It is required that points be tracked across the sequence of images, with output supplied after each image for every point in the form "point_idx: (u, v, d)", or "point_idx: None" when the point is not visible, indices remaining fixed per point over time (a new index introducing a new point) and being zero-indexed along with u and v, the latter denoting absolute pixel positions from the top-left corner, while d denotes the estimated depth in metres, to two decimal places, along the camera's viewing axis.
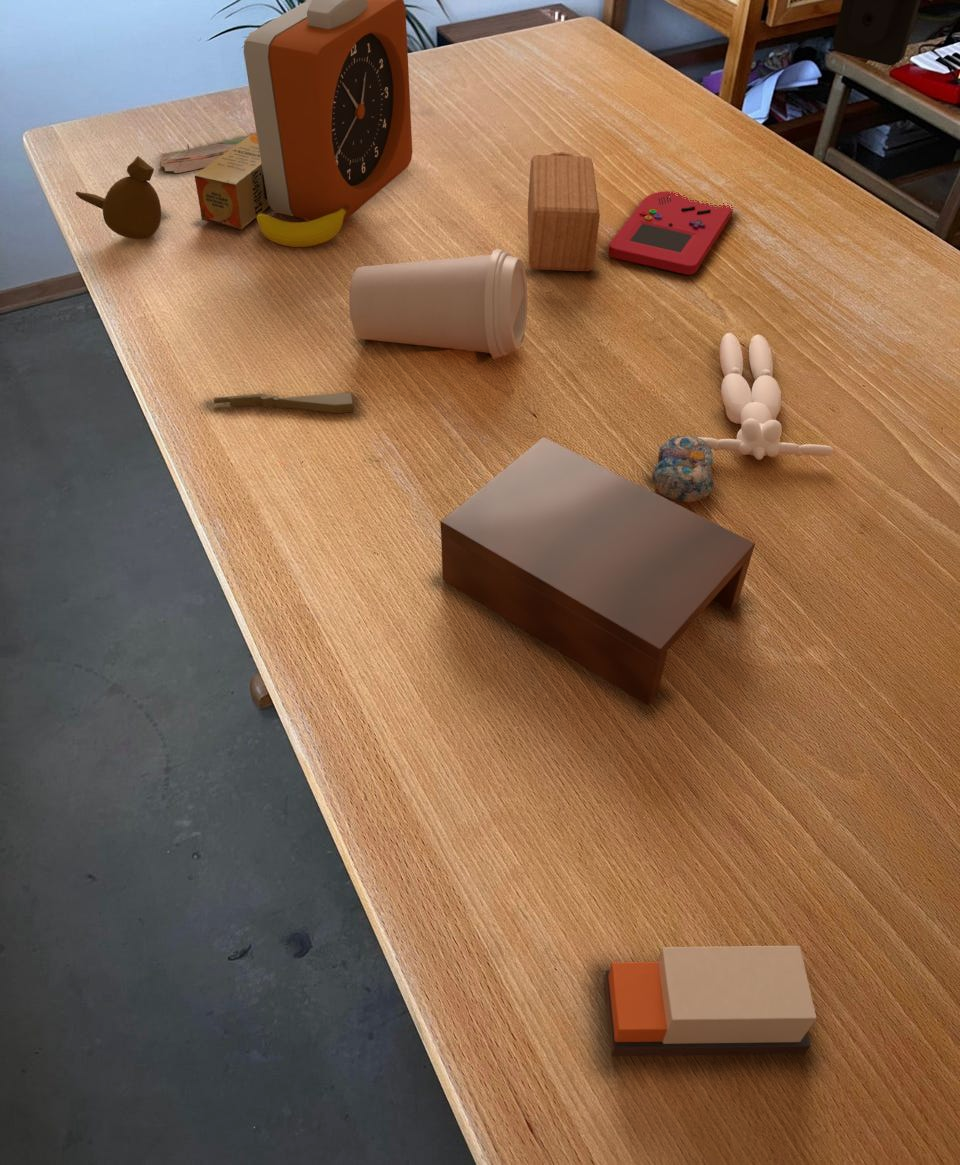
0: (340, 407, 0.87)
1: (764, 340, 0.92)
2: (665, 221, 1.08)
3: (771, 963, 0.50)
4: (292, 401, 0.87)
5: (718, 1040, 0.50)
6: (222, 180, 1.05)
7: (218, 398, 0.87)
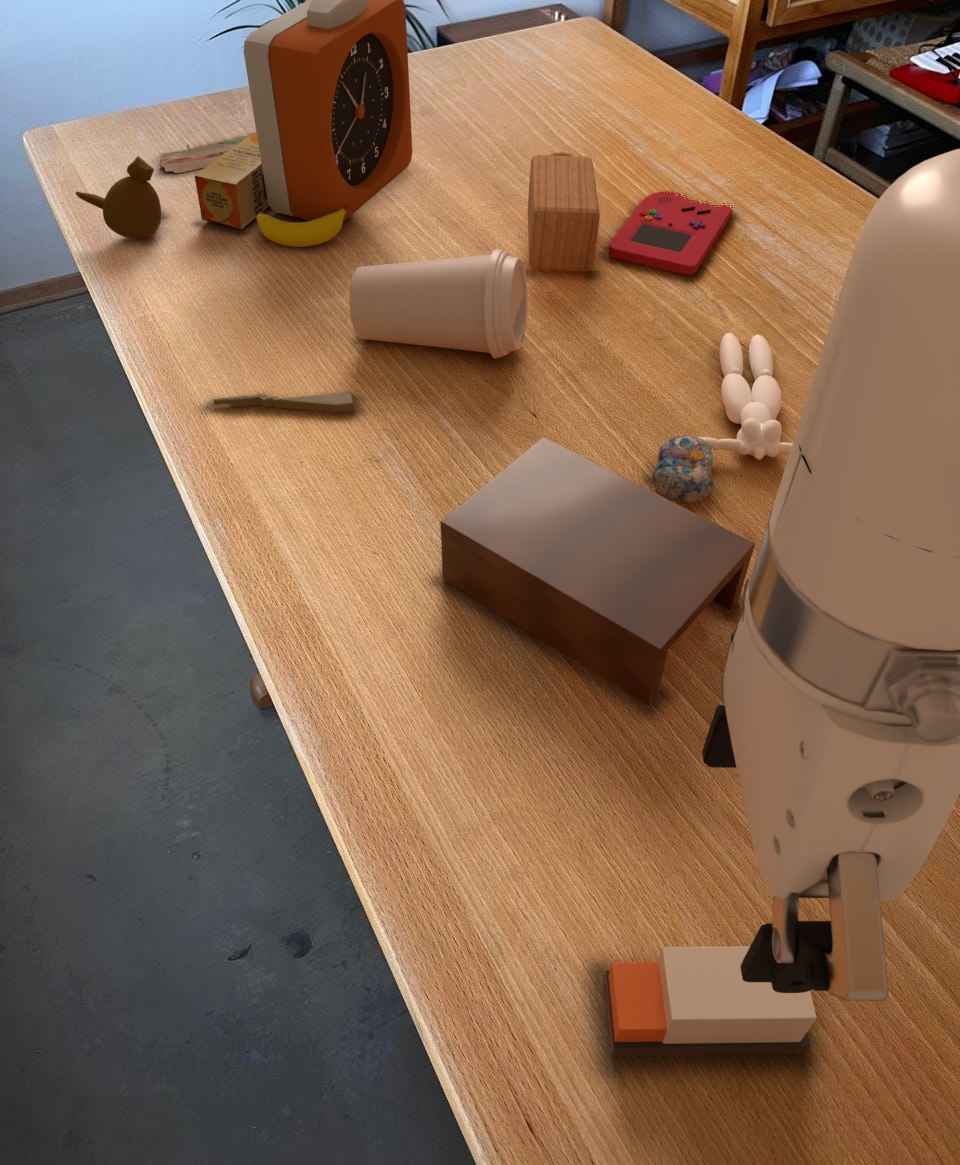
0: (340, 407, 0.87)
1: (764, 340, 0.92)
2: (665, 221, 1.08)
3: None
4: (292, 401, 0.87)
5: (718, 1040, 0.50)
6: (222, 180, 1.05)
7: (218, 399, 0.87)
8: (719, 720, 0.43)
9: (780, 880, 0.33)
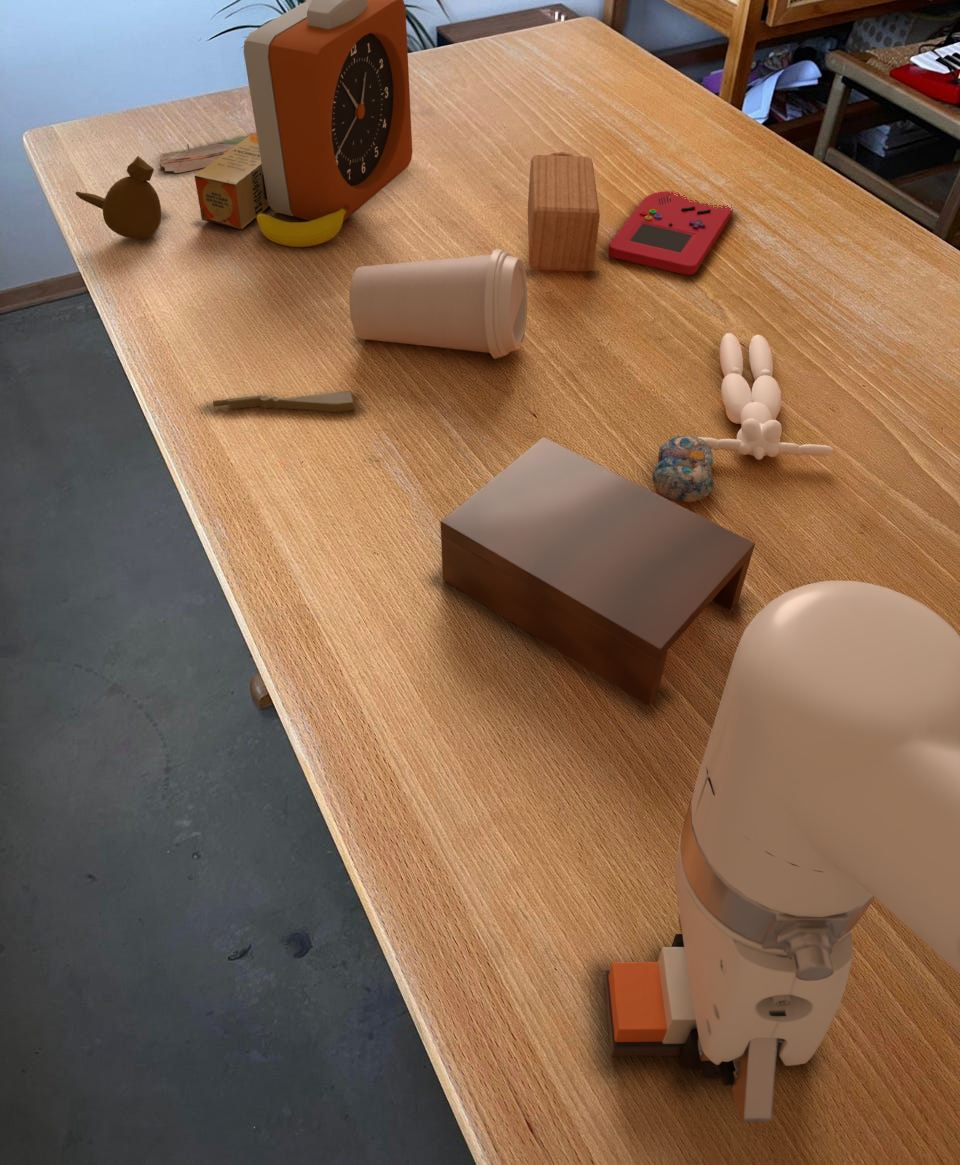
0: (341, 406, 0.87)
1: (764, 340, 0.92)
2: (665, 221, 1.08)
3: None
4: (292, 401, 0.87)
5: None
6: (222, 180, 1.05)
7: (217, 401, 0.87)
8: (677, 946, 0.52)
9: (712, 1052, 0.43)
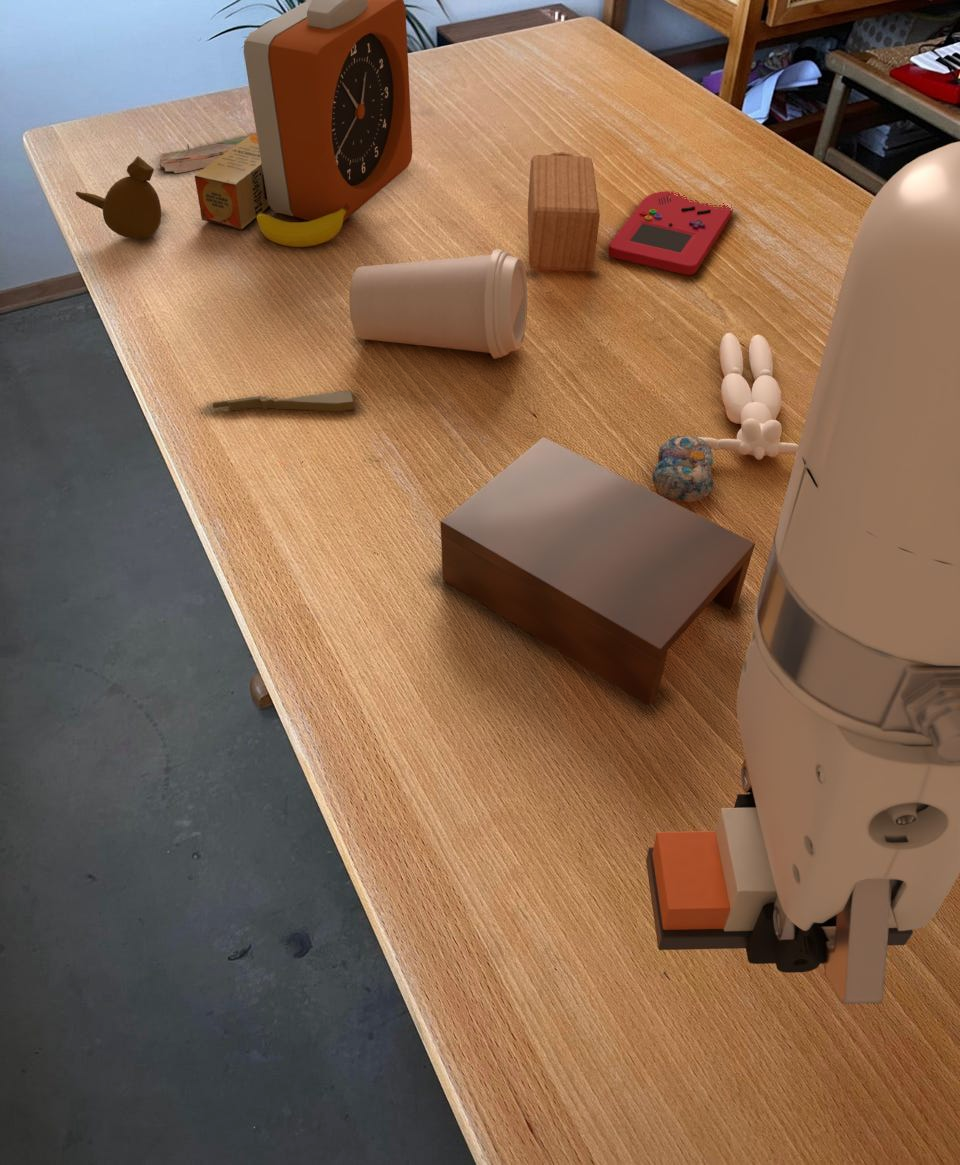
0: (341, 405, 0.87)
1: (764, 340, 0.92)
2: (665, 221, 1.08)
3: None
4: (292, 401, 0.87)
5: None
6: (222, 180, 1.05)
7: (217, 402, 0.87)
8: None
9: (801, 910, 0.32)
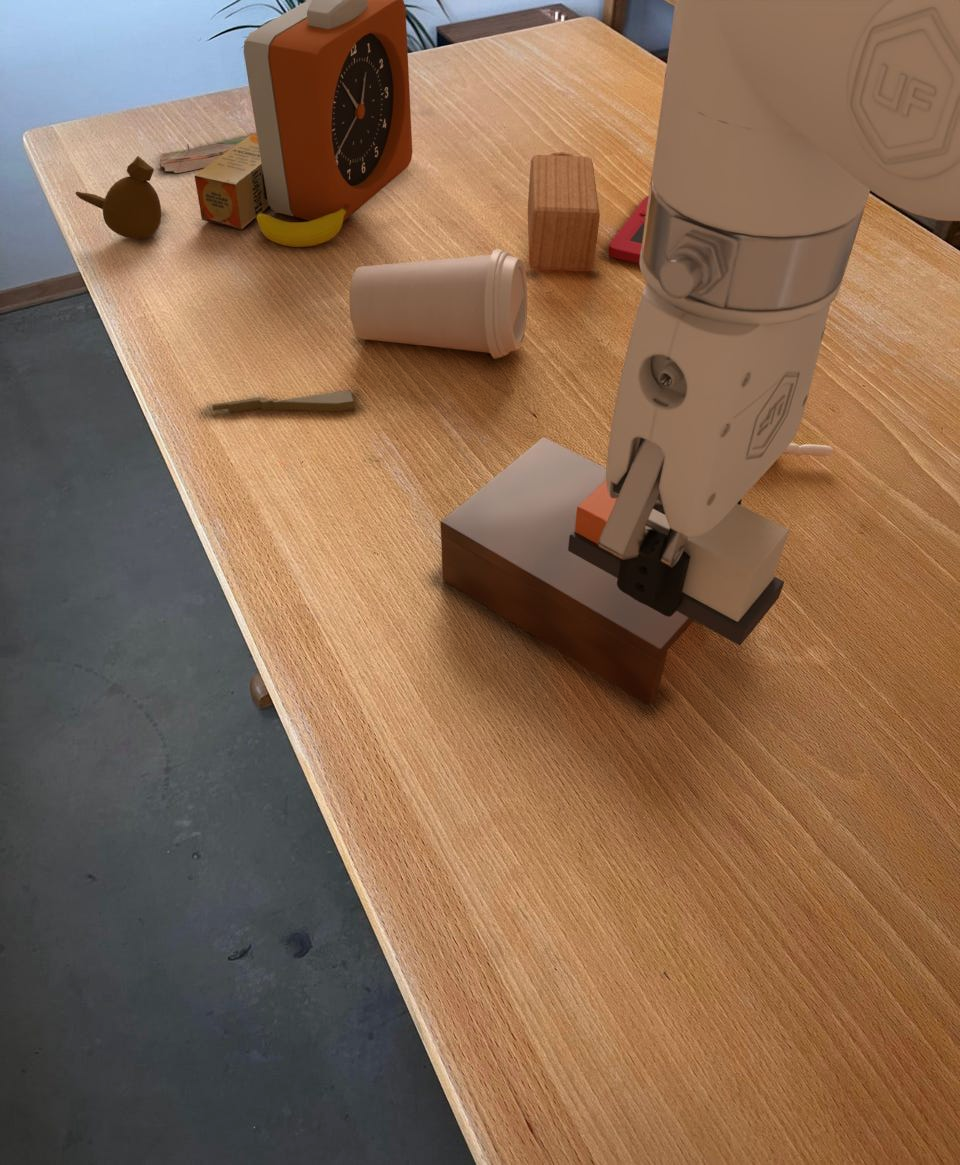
0: (341, 405, 0.87)
1: None
2: None
3: (748, 524, 0.46)
4: (292, 402, 0.87)
5: None
6: (221, 180, 1.05)
7: (216, 405, 0.87)
8: None
9: (607, 467, 0.42)
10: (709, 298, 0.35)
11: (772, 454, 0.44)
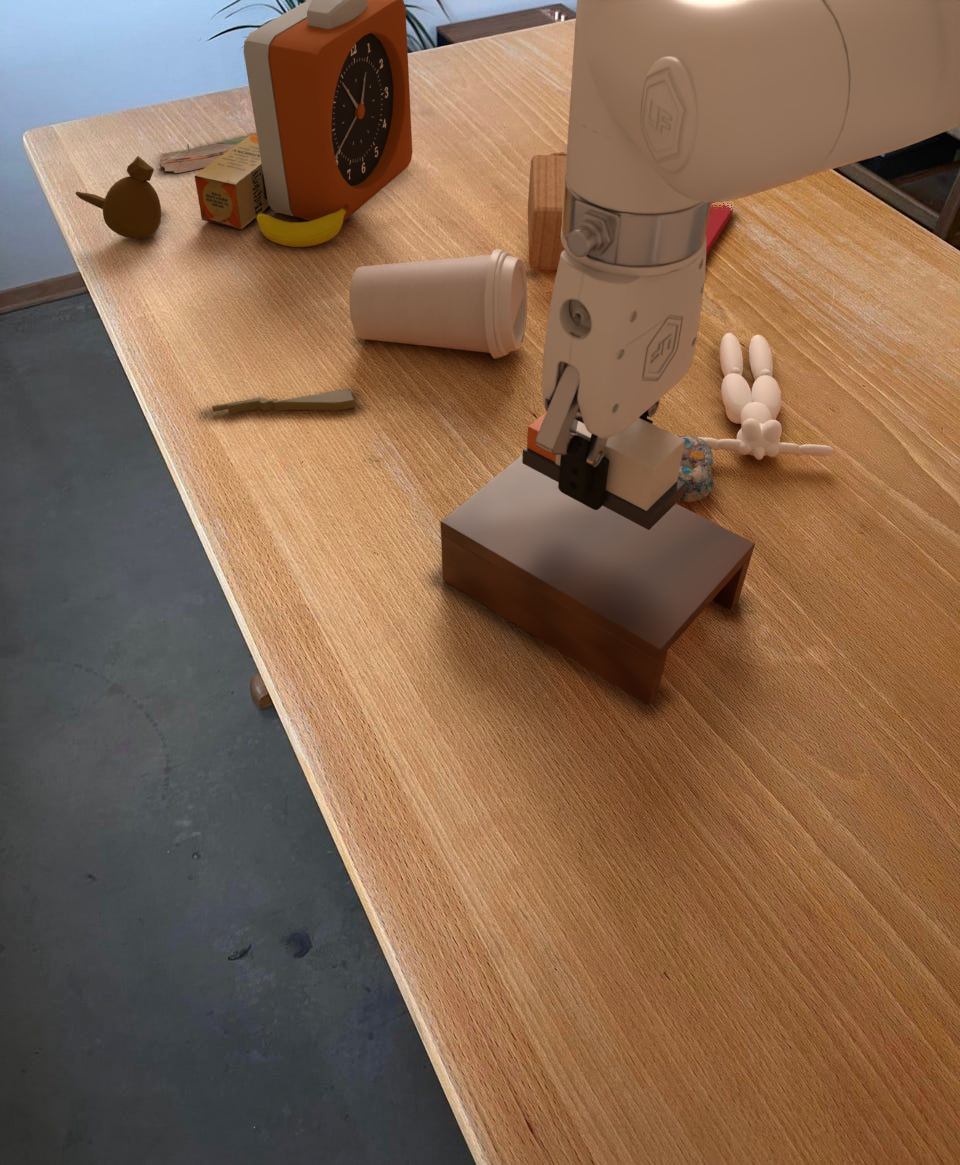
0: (342, 404, 0.87)
1: (764, 340, 0.92)
2: None
3: (654, 435, 0.61)
4: (292, 402, 0.87)
5: None
6: (221, 180, 1.05)
7: (216, 406, 0.87)
8: None
9: (542, 387, 0.57)
10: (604, 257, 0.50)
11: (668, 381, 0.59)
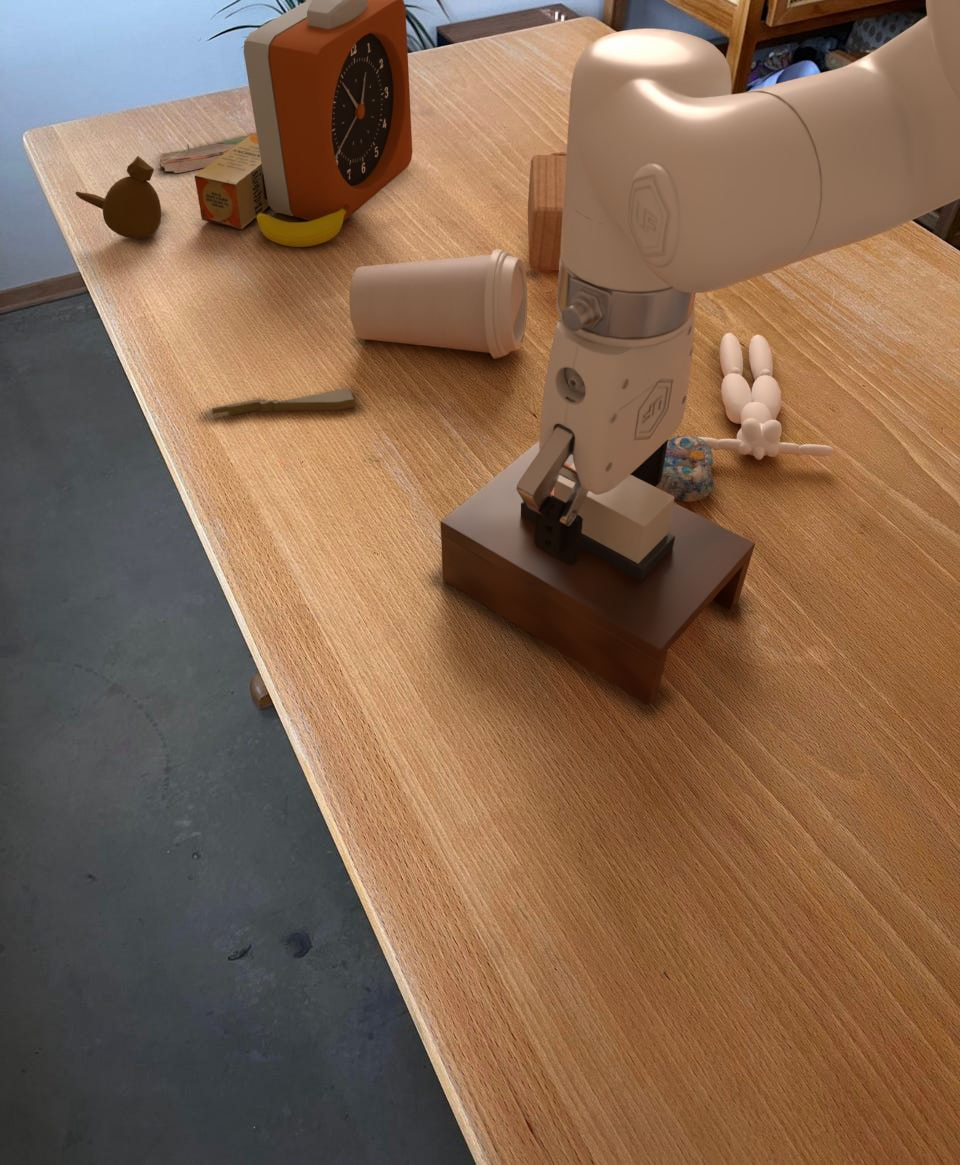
0: (342, 404, 0.87)
1: (764, 340, 0.92)
2: None
3: (645, 492, 0.65)
4: (292, 403, 0.87)
5: (585, 530, 0.66)
6: (221, 180, 1.05)
7: (216, 408, 0.86)
8: None
9: (539, 445, 0.60)
10: (597, 330, 0.53)
11: (659, 437, 0.62)
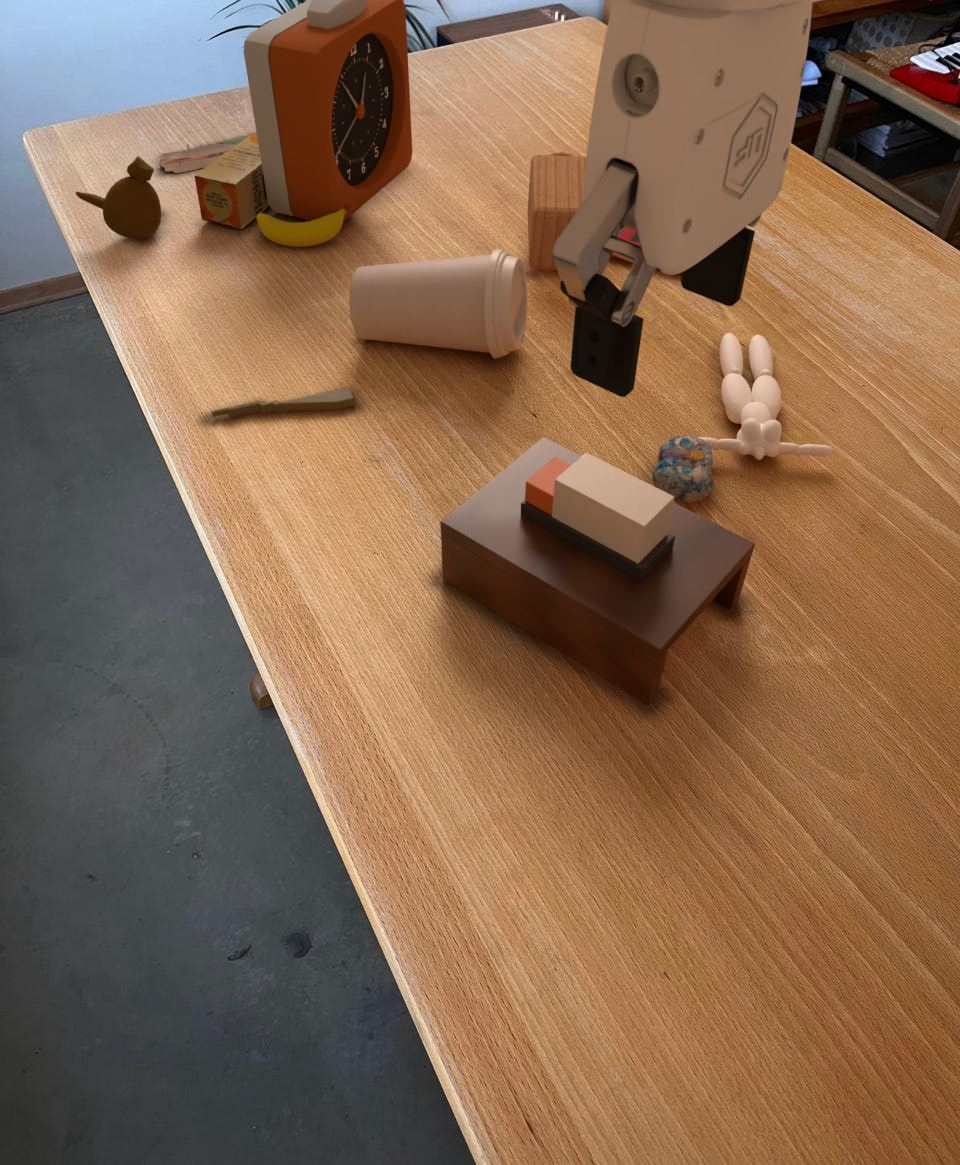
0: (342, 403, 0.87)
1: (764, 340, 0.92)
2: None
3: (645, 492, 0.65)
4: (293, 403, 0.87)
5: (585, 530, 0.66)
6: (221, 180, 1.05)
7: (216, 411, 0.86)
8: None
9: None
10: None
11: (752, 205, 0.43)
